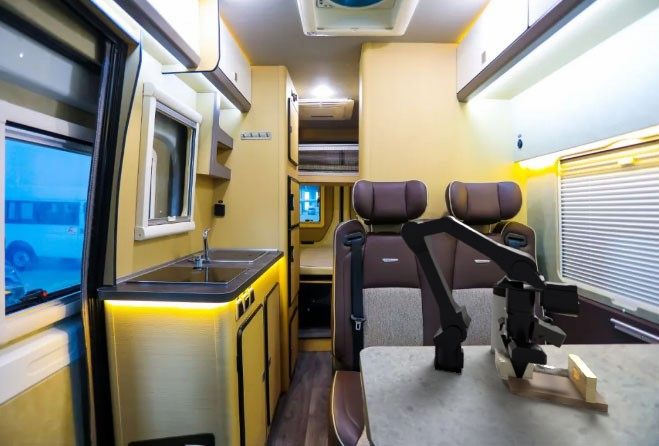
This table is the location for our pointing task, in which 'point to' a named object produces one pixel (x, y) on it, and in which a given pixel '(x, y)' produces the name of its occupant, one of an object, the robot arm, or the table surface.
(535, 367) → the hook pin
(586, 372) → the gold slab
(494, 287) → the travel mug
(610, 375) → the table surface
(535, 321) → the robot arm
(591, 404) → the copper board
